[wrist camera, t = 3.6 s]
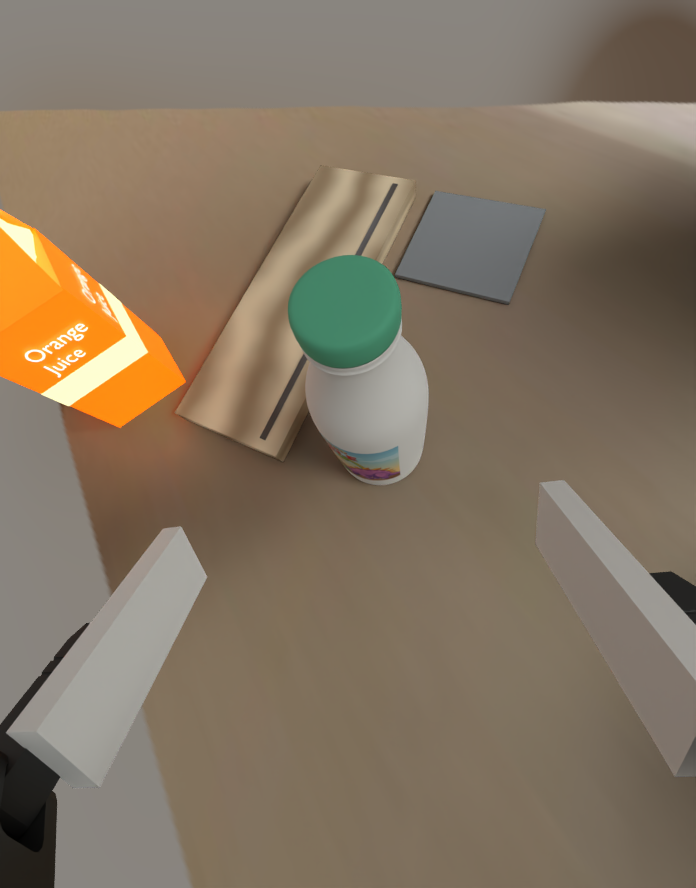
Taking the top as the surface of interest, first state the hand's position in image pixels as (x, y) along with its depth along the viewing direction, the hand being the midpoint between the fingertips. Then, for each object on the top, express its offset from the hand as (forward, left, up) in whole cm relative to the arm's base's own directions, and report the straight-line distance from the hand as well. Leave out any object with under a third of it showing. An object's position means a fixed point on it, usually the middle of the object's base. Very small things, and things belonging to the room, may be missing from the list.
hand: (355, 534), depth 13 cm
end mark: (+4, -32, -18) cm, 37 cm away
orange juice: (+32, -5, -18) cm, 37 cm away
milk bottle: (+4, -8, -18) cm, 20 cm away
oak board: (+18, -20, -18) cm, 32 cm away
